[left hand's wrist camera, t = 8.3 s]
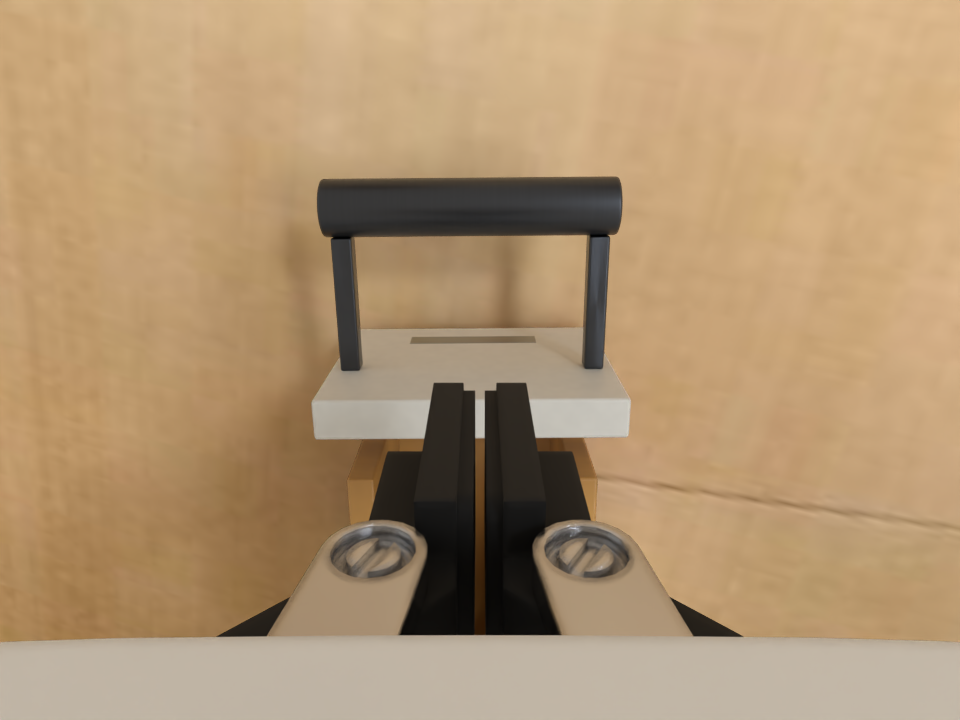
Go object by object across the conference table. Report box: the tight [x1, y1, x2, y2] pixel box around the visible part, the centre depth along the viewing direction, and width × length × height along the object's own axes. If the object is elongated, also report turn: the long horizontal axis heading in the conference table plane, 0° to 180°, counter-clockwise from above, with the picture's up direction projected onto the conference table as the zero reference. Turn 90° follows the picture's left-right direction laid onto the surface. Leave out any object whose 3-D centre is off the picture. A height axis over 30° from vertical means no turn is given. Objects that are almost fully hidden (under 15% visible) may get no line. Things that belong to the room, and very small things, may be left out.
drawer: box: [311, 177, 631, 635], centre depth 24 cm, size 22×9×7 cm, turn 0°
